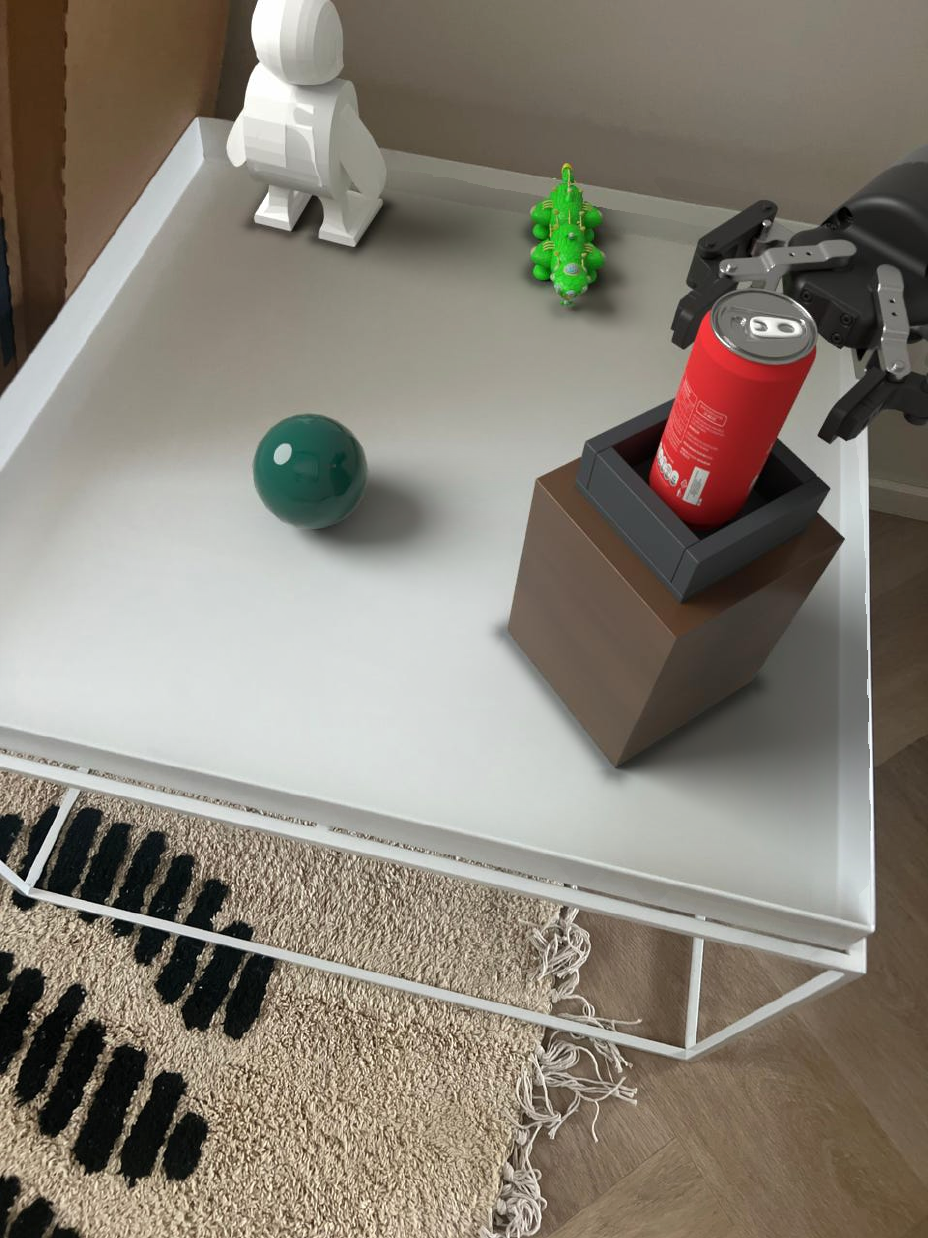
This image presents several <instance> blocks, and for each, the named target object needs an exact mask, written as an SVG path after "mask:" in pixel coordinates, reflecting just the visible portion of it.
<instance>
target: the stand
mask: <svg viewBox="0 0 928 1238" xmlns="http://www.w3.org/2000/svg"><path fill="white" fill-rule="evenodd" d="M580 460H581V456H580V457H577V458H575V459H573V460H571V461H569V462H567V463H565V464H562V465H561V466H559V467H557V468H555V469H553V470H550V471H548V472H547V473H545V474H542V475H541V476H539V477H536V478H535V480H534V485H533V486H534V487H533V492H532V497H531V502H530V507H529V512H528V513H529V514H528V517H527V523H526V529H525V533H524V539H523V545H522V550H521V556H520V560H519V566H518V570H517V576H516V581H515V586H514V587H515V588H514V592H513V597H512V603H511V608H510V613H509V618H508V623H507V629H506V631H507V633H509V635H510V636H511V637H512V639H513V640H514V641H515V643H516V644H517V645H518V646H519V648H520V650H522V652H523V653H524V654H525V655H526V656H527V658H528V659H529V661H530V662H531V663H532V665H533V666H534V667H535V668H536V669H537V670H538V672H539V673H540V675H542V678H544V679H545V681H546V682H547V684H548V685H549V686H550V688H552V690H553V692H555V693H556V696H558V697H559V699H560V700H561V701H562V703H563V704H564V705H565V707H566V708H567V709H568V711H570V712H571V714H572V715H573V716H574V718H575V719H576V720H577V721H578V723H579V724H580V725H581V727H582V728H583V729H584V730H585V732H586V733H587V734H588V736H589V737H590V738H591V740H592V741H593V742H594V743H595V745H596V746H597V747H598V748H599V749H600V751H601V752H602V753H603V755H604V756H605V758H607V760H608V761H609V763H610V764H611V765H612V766H613V768H615V769H616V768H618V767H619V766H621V765H622V764H623V763H626V762H627V761H628V760H630V759H631V758H633V757H635V756H636V755H638V754H640V753H641V752H643V751H644V750H646V749H647V748H649V747H650V746H652V745H654V744H655V743H657V742H658V741H660V740H662V739H663V738H665V737H666V736H668V735H669V734H671V733H672V732H674V731H676V730H677V729H680V728H681V727H682V726H684V725H685V724H687V723H688V722H690V721H691V720H693V719H694V718H697V717H698V716H699V715H702V714H703V713H704V712H705V711H707V710H709V709H711V708H712V707H713V706H715V705H717V704H718V703H720V702H721V701H723V700H724V699H726V698H727V697H730V695H732V694H734V693H735V692H737V691H738V690H741V689H742V688H743V687H745V686H747V685H749V684H750V683H751V682H753V681H754V680H755V678H756V677H757V675H758V673H759V672H760V670H761V669H762V668H763V666H764V664H765V663H766V661H767V660H768V658H769V657H770V655H771V653H772V652H773V650H775V647H776V646H777V644H778V643H779V641H781V638H782V637H783V635H784V633H785V632H786V631H787V630H788V627H789V626H790V624H791V623H792V621H793V620H794V618H795V617H796V616H797V614H798V612H799V611H800V609H801V608H802V606H803V605H804V603H805V602H806V600H807V599H808V597H809V596H810V594H811V592H812V591H813V589H814V588H815V586H816V584H817V583H818V582H819V581H820V578H821V577H822V576H823V574H824V573H825V571H826V570H827V568H828V566H829V565H830V563H832V560H833V559H834V557H835V556H836V554H837V553H838V552H839V549H841V547H842V545H843V544H844V542H845V541H846V538H845V536H843V535H842V534H841V533H840V532H839V531H838V530H837V529H836V528H835V527H834V526H833V525H832V524H831V523H830V522H828V520H827V519H826V518H825V517H824V516H822V515H821V514H820V512H818V511H817V513H816V515H815V516H814V518H813V520H812V522H811V523H810V525H809V527H808V529H807V530H806V531H805V532H804V533H802V534H800V535H798V536H797V537H795V538H793V539H791V540H790V541H788V542H786V543H785V544H783V545H781V546H779V547H778V548H776V549H774V550H772V551H771V552H769V553H767V554H766V555H764V556H762V557H760V558H759V559H757V560H755V561H753V562H752V563H750V564H748V565H747V566H745V567H743V568H741V569H740V570H738V571H736V572H734V573H733V574H731V575H729V576H728V577H726V578H724V579H722V580H721V581H719V582H717V583H715V584H714V585H712V586H710V587H709V588H707V589H705V590H703V591H702V592H700V593H698V594H697V595H695V596H693V597H691V598H690V599H688V600H686V601H684V602H683V603H681V604H680V603H679V602H678V601H677V600H676V599H675V598H674V597H673V595H672V594H671V593H670V592H669V591H668V590H667V589H666V588H665V586H664V585H663V584H662V583H661V582H660V581H659V580H658V579H657V578H656V576H655V575H654V574H653V573H652V572H651V571H650V570H649V569H648V568H647V566H646V565H645V564H644V563H643V562H642V561H641V560H640V559H639V558H638V556H637V555H636V554H635V553H634V552H633V551H632V550H631V549H630V548H629V546H628V545H627V544H626V543H625V542H624V541H623V540H622V539H621V537H620V536H619V535H618V534H617V533H616V532H615V531H614V530H613V529H612V527H611V526H610V525H609V524H608V523H607V522H606V521H605V520H604V519H603V517H602V516H601V515H600V514H599V513H598V512H597V511H596V510H595V509H594V507H593V506H592V505H591V504H590V503H589V502H588V501H587V500H586V499H585V497H584V496H583V495H582V494H581V493H580V492H579V491H578V490H577V489H576V487H575V486H574V484H575V480H576V477H577V473H578V468H579V464H580Z"/></svg>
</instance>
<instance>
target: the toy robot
mask: <svg viewBox="0 0 928 1238" xmlns="http://www.w3.org/2000/svg"><path fill="white" fill-rule="evenodd" d="M343 33H344V31H343V26H342V22H341V18H340V14H339V13H338V11H337V8H336V6H335V4H334V3H333V1H331V0H257V3H256V5H255V8H254V12H253V13H252V19H251V39H252V42H253V46H254V50H255V53H256V58H257V59H258V61H259V62H258V63H257V64H256V65H255V67H254V68H253V70H252V71H251V73H250V76H249V80H248V83H247V85H246V90H245V95H244V101H243V102H244V103H243V108H242V110H241V111H240V113H239V115H238V116H237V117H236V119H235V121H234V122H233V124H232V127H231V130H230V132H229V135H228V138H227V141H226V147H225V148H226V153H227V157H228V159H229V160H230V163H231V164H232V165H233V166H234V167H235V168H239V167H241V166H242V165H243V164H244V163H245V162H246V166H247V170H248V173H249V176H250V177H251V178H252V180H253V181H254V182H258V183H262V184H265V185H268V192H267V193H266V196H265V197H264V199H263V201H262V202H261V204H260V205H259V207H258V209H257V210H256V212H255V214H254V217H253V219H254V222H255V223H256V224H260V225H263V226H268V227H270V228H271V227H272V228H276V229H280V230H284V231H288V232H292V230H293V229H294V227H295V225H296V224H297V222H298V220H299V218H300V217H301V215H302V213H303V212H304V210H305V209H306V206H307V205H308V203H309V201H310V200H311V198H312V196H315V197H317V198H318V200H319V201H320V203H321V205H322V209H323V222H322V224H321V226H320V228H319V230H318V239H321V240H324V241H329V242H333V243H336V244H341V245H345V246H349V247H352V248H356V246H357V245H358V243H359V241H360V240H361V238H362V237H363V235H364V234H365V232H366V231H367V230H368V228H369V226H370V225H371V223H372V222H373V221H374V219H375V217H376V215H377V214H378V213H379V211H380V210H381V208H382V206H383V205H384V202H383V198H379V197H380V196H381V194H382V192H383V191H384V189H385V186H386V183H387V167H386V162H385V159H384V157H383V155H382V151H381V150H380V147H378V144H377V143H376V142H377V141H376V140H375V139H374V136H373V135H372V134H371V132H370V131H369V129H368V128H367V127H366V125H365V124H364V122H363V121H362V120H361V118H360V113H359V105H358V97H357V92H356V88H355V85H354V82H352V81H351V80H347V79H343V78H339V77H338V76H339V75H340V73H341V72H342V70H343V69H344V66H345V64H344V53H343V52H344V34H343ZM352 183H353V185H354V186H355V188H356V189H357V190H358V191H359V192H358V191H354V190H351V189H350V187H351V184H352ZM255 223H254V224H255Z"/></svg>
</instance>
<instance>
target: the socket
mask: <svg viewBox="0 0 928 1238" xmlns="http://www.w3.org/2000/svg"><path fill="white" fill-rule="evenodd" d="M675 398H676V396H675V397H673V398H671V399H669V400H667V401H664V402H663V403H660V404H659V405H657V406H654V407H653V408H651V409H649V410H646V411H644V412H643V413H640V414H638V415H637V416H634V417H632V418H630V419H628V420H626V421H623V422H622V423H620V424H617V425H615V426H613V427H612V428H609V429H608V430H605V431H603V432H601V433H599V434H596V435H595V436H593V437H591V438H589V439H587V440H585V441H584V444H583V448H582V452H581V456H580V457H581V460H580V464H579V468H578V473H577V477H576V480H575V484H574V486H575V487H576V489H577V490H578V491H579V492H580V493H581V494H582V495H583V496H584V497H585V499H586V500H587V501H588V502H589V503H590V504H591V505H592V506H593V507H594V509H595V510H596V511H597V512H598V513H599V514H600V515H601V516H602V517H603V519H604V520H605V521H606V522H607V523H608V524H609V525H610V526H611V527H612V529H613V530H614V531H615V532H616V533H617V534H618V535H619V536H620V537H621V539H622V540H623V541H624V542H625V543H626V544H627V545H628V546H629V548H630V549H631V550H632V551H633V552H634V553H635V554H636V555H637V556H638V558H639V559H640V560H641V561H642V562H643V563H644V564H645V565H646V566H647V568H648V569H649V570H650V571H651V572H652V573H653V574H654V575H655V576H656V578H657V579H658V580H659V581H660V582H661V583H662V584H663V585H664V586H665V588H666V589H667V590H668V591H669V592H670V593H671V594H672V595H673V597H674V598H675V599H676V600H677V601H678V602H679V603H680V604H681V603H683V602H684V601H686V600H688V599H690V598H691V597H693V596H695V595H697V594H698V593H700V592H702V591H703V590H705V589H707V588H709V587H710V586H712V585H714V584H715V583H717V582H719V581H721V580H722V579H724V578H726V577H728V576H729V575H731V574H733V573H734V572H736V571H738V570H740V569H741V568H743V567H745V566H747V565H748V564H750V563H752V562H753V561H755V560H757V559H759V558H760V557H762V556H764V555H766V554H767V553H769V552H771V551H772V550H774V549H776V548H778V547H779V546H781V545H783V544H785V543H786V542H788V541H790V540H791V539H793V538H795V537H797V536H798V535H800V534H802V533H804V532H805V531H806V530H807V529H808V527H809V525H810V523H811V522H812V520H813V518H814V516H815V515H816V513H817V512H818V511H819V510H820V508H821V507H822V504H823V503H824V501H825V500H826V498H827V496H828V495H829V493H830V491H831V487H830V486H829V484H827V482H825V481H824V480H823V479H822V478H821V477H819V476H818V475H817V473H816V472H814V471H813V470H812V469H811V467H809V466H808V465H807V464H806V463H805V462H804V461H803V460H802V459H801V458H800V457H799V456H798V455H797V454H796V453H794V452H793V451H792V450H791V449H790V448H789V447H788V446H787V445H786V444H785V443H784V442H783V441H782V440H781V439H780V438H779V437H777V439H776V441H775V443H774V445H773V447H772V449H771V451H770V453H769V455H768V458H767V460H766V462H765V464H764V466H763V468H762V470H761V472H760V474H759V476H758V478H757V480H756V482H755V484H754V486H753V488H752V491H751V493H750V495H749V497H748V499H747V501H746V503H745V505H744V507H743V509H742V510H741V511H740V512H739V513H738V514H737V515H736V516H735V517H734V518H732V519H730V520H728V521H727V522H726V523H725V524H723V525H722V526H720V527H719V528H717V529H714V530H711V531H705V532H694V531H691V530H690V529H689V528H688V527H687V526H686V525H685V524H684V523H683V522H682V521H681V520H680V519H679V518H678V516H677V515H676V514H675V513H674V512H673V511H672V510H671V509H670V508H669V507H668V506H667V505H666V504H665V503H664V502H663V501H662V500H661V498H660V497H659V496H658V495H657V494H656V493H655V492H654V491H653V490H652V489H651V488H650V483H649V477H650V472H651V469H652V466H653V463H654V460H655V457H656V454H657V451H658V448H659V445H660V442H661V439H662V436H663V433H664V430H665V427H666V424H667V421H668V419H669V416H670V413H671V410H672V407H673V404H674V401H675Z"/></svg>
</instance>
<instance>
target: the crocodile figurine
mask: <svg viewBox="0 0 928 1238" xmlns="http://www.w3.org/2000/svg"><path fill="white" fill-rule="evenodd" d="M573 172H574V169H573V167H572V165H571V164H570V163H567V162H566V163H564V164H563V166H562V167H561V175H562V177H561V184H560V183H558V184H559V185H558V186H557V187H553V188H552V189H553V191H552V192H551V194H550V197H549V199H548V198H547V199H545V198H544V199H543V200H541V201H540V202H539V203H537V204H536V205H533V206H532V207H531V208H530V210H529V214H530V219H531V221H533V222H534V223H535V225H534V226H533V229H532V234H533V236H534V237H535V238H536V239H538V240H543V241H541V242H540V243H538V244H537V245H536V246H533V247H532V248H531V249H530V252H529V253H530V260H531V262H532V263H534V264H535V266H534V267H533V269H532V271H533V276H534V277H535V278H536V279H537V280H539V281H547V280H549V279H550V280H551V282H552V284H553V288H554V289H555V293H557V295H559V296H560V297H561V298H563V299H564V300H561V301H560V306H561V307H563V306H565V307H568V306H569V307H572V306H574V303H573V301H570V300H573V299H574V298H576V297H578V296H579V295H581V296H583V294H584V293H586V292H587V291H588V290H589V289H588V288H589V285H590V284H592V283H594V282H595V281H596V279H597V276H598V275H597V271H596V270H600V269H601V268H603V267H604V266H605V264H606V259H607V257H606V254H605V253H604V252H603V251H601V250H600V249H599V248H598V247H596V246H595V245H594V244H593V243H592V241H593V240H594V239H595V232H594V230H593V229H594V228H598V227H599V226H601V224H602V223H603V219H604V215H603V213H602V212H601V211H600V210H598V209H597V208H596V207H595V206H594V205H592V204H591V203H590V202H588V201H587V200H584V203H583V199H584V196H583V197H582V195H583V192H584V189H583V188H581V189H578V188H577V187H576V186H574V185H570V182H571V183H574V182H576V183H578V184H579V182H578V181H577V179H575V176H574V174H573ZM552 179H557V176H554V177H553V178H552ZM562 181H564V182H569V183H568V184H567V183H562Z"/></svg>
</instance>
